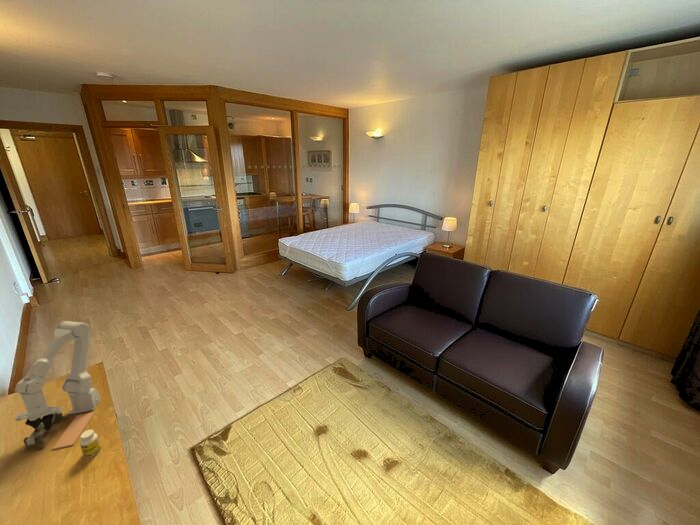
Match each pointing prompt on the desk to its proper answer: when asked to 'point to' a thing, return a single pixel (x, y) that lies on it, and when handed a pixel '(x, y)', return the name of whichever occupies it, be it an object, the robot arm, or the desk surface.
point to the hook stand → (45, 435)
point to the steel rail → (38, 432)
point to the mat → (73, 431)
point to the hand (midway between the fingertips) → (44, 429)
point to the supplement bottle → (89, 443)
